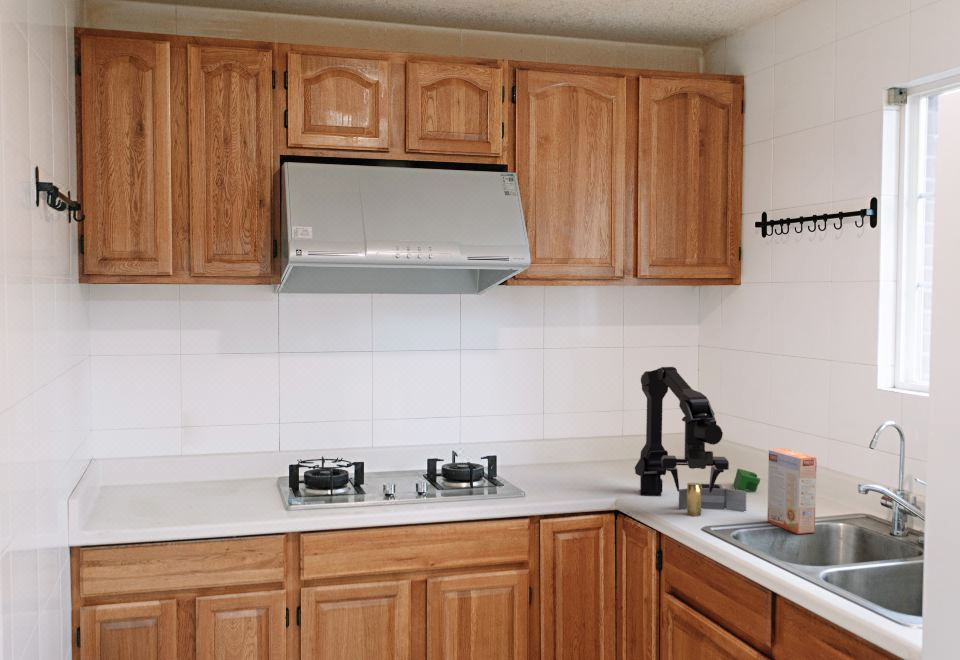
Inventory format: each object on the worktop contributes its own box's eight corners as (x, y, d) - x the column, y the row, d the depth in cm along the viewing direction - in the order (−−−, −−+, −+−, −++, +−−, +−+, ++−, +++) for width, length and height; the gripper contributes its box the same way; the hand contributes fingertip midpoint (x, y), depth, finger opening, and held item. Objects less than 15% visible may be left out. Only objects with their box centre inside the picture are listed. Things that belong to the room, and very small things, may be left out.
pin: (687, 516, 261) (688, 485, 260) (686, 512, 265) (686, 482, 264) (701, 516, 260) (702, 485, 260) (700, 513, 264) (700, 482, 264)
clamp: (752, 505, 291) (761, 483, 287) (734, 500, 292) (742, 478, 287) (751, 484, 301) (759, 462, 297) (733, 479, 302) (741, 457, 298)
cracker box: (816, 533, 242) (817, 456, 241) (797, 535, 241) (798, 457, 240) (784, 520, 256) (786, 447, 255) (766, 522, 254) (767, 448, 253)
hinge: (679, 509, 268) (679, 489, 268) (676, 502, 277) (676, 482, 277) (746, 511, 265) (747, 491, 265) (741, 504, 275) (741, 484, 274)
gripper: (664, 442, 254) (663, 497, 255) (732, 444, 252) (731, 499, 253) (661, 436, 265) (660, 488, 266) (726, 437, 263) (725, 490, 264)
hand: (694, 491), depth 262 cm, fingers open, 9 cm apart
